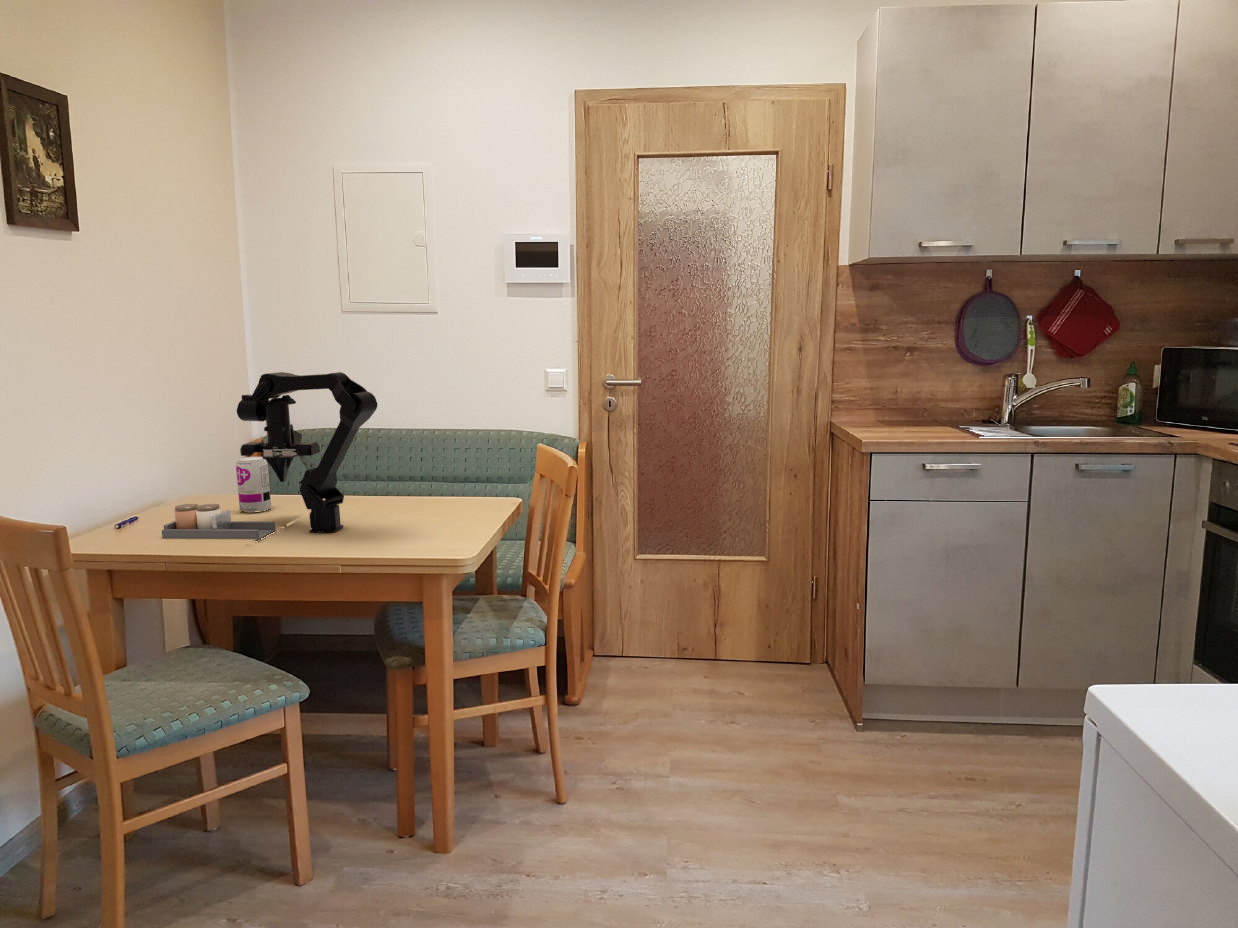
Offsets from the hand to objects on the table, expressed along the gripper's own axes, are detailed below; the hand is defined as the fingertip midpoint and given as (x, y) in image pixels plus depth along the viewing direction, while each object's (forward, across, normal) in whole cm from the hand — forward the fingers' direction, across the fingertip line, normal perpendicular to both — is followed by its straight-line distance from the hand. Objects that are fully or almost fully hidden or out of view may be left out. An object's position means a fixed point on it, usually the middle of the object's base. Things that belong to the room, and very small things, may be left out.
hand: (282, 481), depth 220 cm
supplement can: (+12, +18, -19) cm, 29 cm away
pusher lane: (+12, +12, +11) cm, 20 cm away
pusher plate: (+11, +11, +11) cm, 19 cm away
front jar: (+11, +20, +11) cm, 25 cm away
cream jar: (+11, +14, +11) cm, 21 cm away
